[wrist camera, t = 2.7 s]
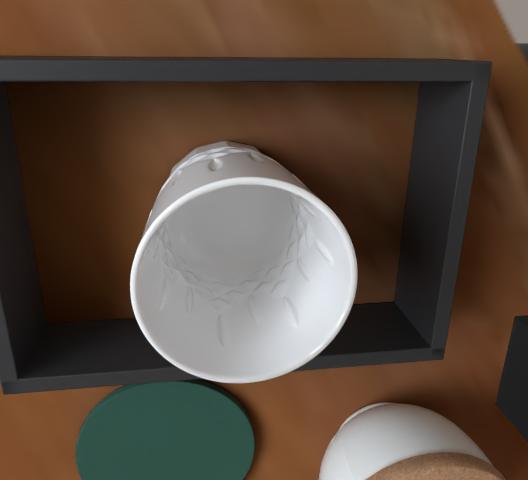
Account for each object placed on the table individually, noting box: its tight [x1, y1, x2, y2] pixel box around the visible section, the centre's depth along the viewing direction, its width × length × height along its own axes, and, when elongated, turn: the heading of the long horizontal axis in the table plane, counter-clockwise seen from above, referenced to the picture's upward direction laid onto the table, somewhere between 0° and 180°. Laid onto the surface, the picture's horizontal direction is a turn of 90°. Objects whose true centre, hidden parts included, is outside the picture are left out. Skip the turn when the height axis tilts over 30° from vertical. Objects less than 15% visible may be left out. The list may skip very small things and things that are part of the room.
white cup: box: [130, 141, 358, 383], centre depth 22 cm, size 8×8×10 cm
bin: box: [0, 56, 492, 395], centre depth 24 cm, size 22×15×5 cm
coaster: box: [75, 379, 255, 480], centre depth 31 cm, size 11×11×1 cm
